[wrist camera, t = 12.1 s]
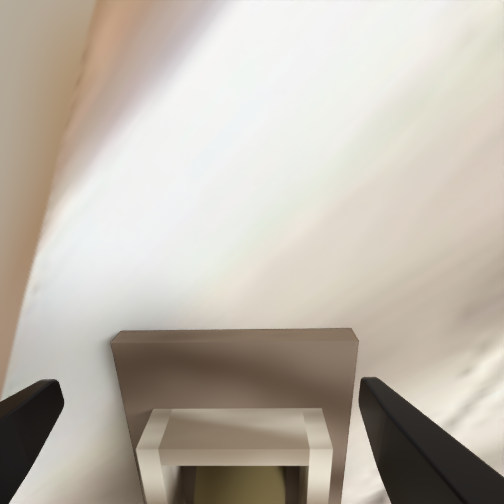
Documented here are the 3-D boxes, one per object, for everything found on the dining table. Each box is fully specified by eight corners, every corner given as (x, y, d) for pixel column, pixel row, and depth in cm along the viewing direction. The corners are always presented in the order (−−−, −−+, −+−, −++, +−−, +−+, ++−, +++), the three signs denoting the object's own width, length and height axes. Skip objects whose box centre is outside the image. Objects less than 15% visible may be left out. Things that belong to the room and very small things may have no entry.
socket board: (330, 540, 22) (344, 611, 18) (161, 538, 22) (143, 609, 19) (351, 328, 16) (378, 373, 12) (121, 331, 16) (82, 375, 13)
